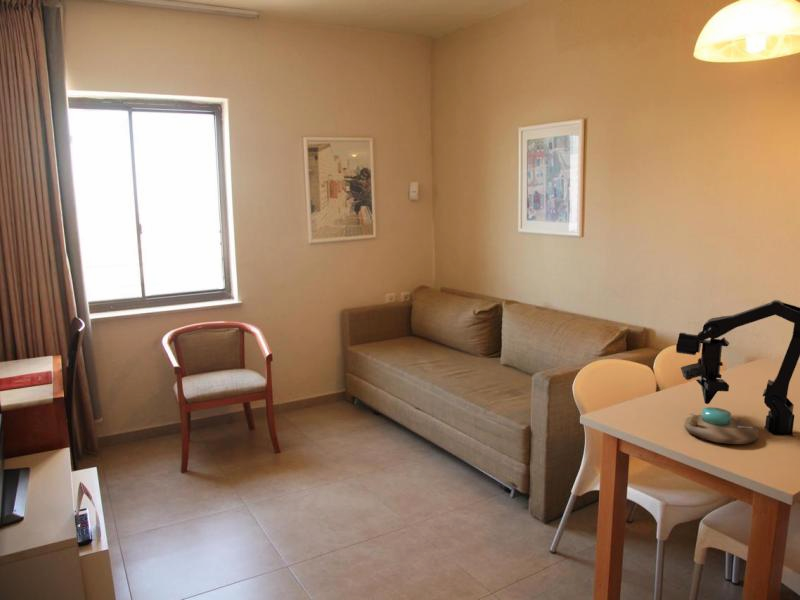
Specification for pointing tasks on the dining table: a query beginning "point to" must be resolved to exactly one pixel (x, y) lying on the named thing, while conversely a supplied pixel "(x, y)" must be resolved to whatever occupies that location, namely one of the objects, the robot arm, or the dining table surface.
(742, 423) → the disc
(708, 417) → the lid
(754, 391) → the dining table surface
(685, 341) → the robot arm
